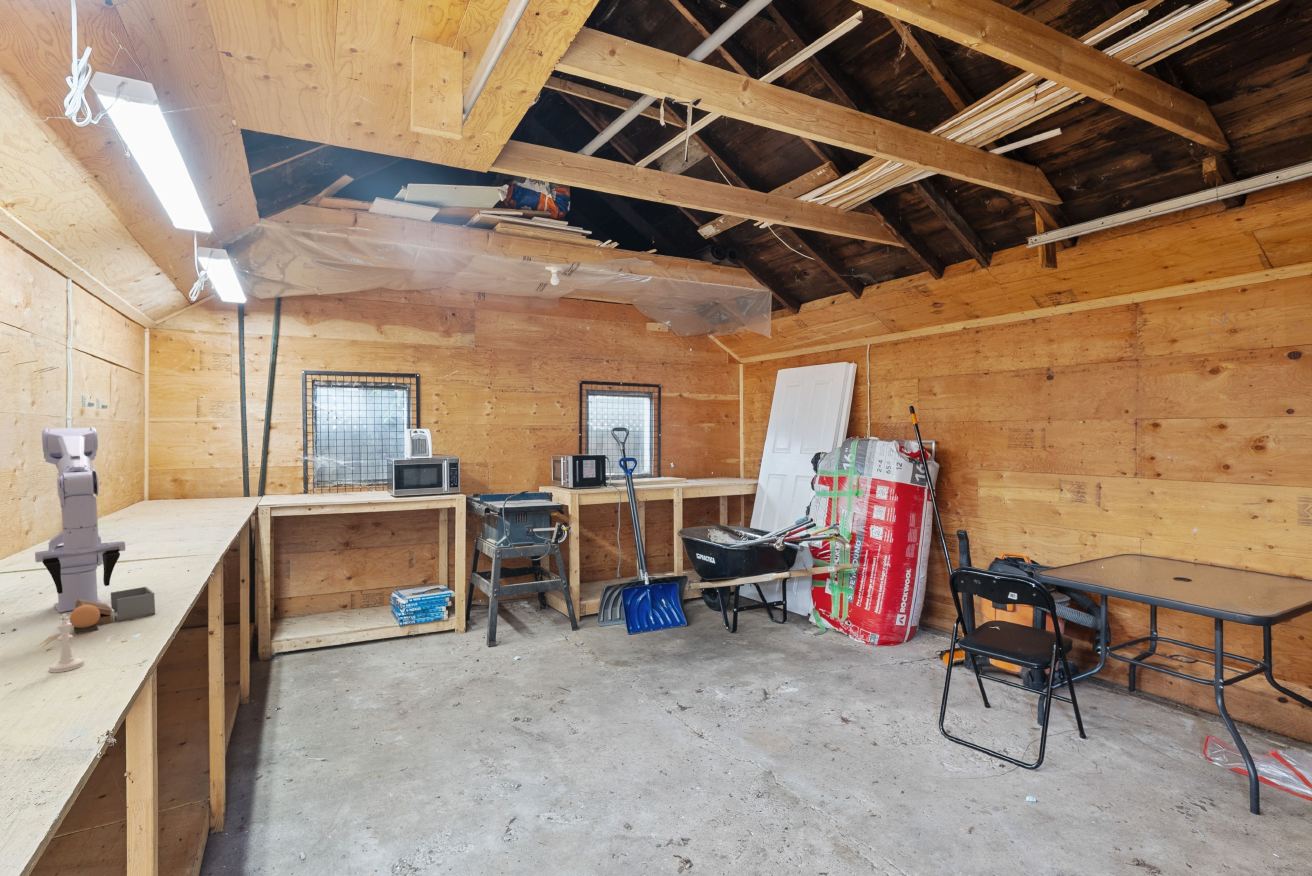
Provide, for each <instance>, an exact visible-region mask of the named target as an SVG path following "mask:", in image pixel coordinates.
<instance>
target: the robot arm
mask: <svg viewBox="0 0 1312 876" xmlns="http://www.w3.org/2000/svg"><path fill="white" fill-rule="evenodd" d="M97 431H98V430H97V429H96V428H95V427H94V426H90V427H63V428H62V427H59V428H58V427H57V428H56V427H55V428H48V427H44V428H43V429H42V430H41V439H42V441H41V442H42V453H43V459H45V463H49V464H52V465H55V467H56V469H57V471H58V472H57V473H58V475H57V478H56V479H57V480H56V483H57V484H56V485H57V496H58V499H59V502H60V503H59V505H60V509H61V522H62V523H61V526H62V531H61V532H59V533H58V534H56V535H55V536H53V537H52V538H50V540H49V542H48V548H47V549H46V550H41V551H35V552H34V559H35V563H42V564H43V566H45V568H46V570H47V571H48V573H49V574H50V576H51V578H52V580H53V583H54V585H55V589H56V593H57V600H58V601H57V602H54V603H53V606H54V607H55V609H56V610H57V613H64V612H69V611H73V610H75V602H76V601H77V599H83V600H88V601H93V602H98V603H103V602H102V601H101V600H100V599H99V598H98V581H97V579H98V578H97V569H98V567H100V566H101V565H102V564H103V585H104V586H105V587H109V586H110V581H111V577H112V573H113V571H114V568H115V566H116V564H117V563H118V560H119V558H120V556H121V553H120V552H124V551H126V542H125V541H113V542H111V541H110V542H102V537H101V536H100V534H99V524H98V506H97V505H98V504H97V503H98V502H97V497H98V496H99V491H100V482H99V477H98V472H97V470H96V469H94V468H93V462H92V461H95V459H96V457H97V452H98V446H99V444H98V442H99V441H98V432H97ZM60 544H63V545H60Z"/></svg>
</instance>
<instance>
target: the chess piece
mask: <svg viewBox="0 0 1312 876" xmlns="http://www.w3.org/2000/svg"><path fill="white" fill-rule="evenodd" d="M58 620H59V621H61V623H60V624H58V625H57V626H56V628H57V629H58V631H59V633H60V635H59V637H57V640H58V641H61V651H60V657H59V658H58V659H57V662H54V663H52V664H50V665H49V667H48V668H49V669H48V672H49V673H63V672H68V671H73V670H75V669H78V668H81V667H82V666H84V665H85V662H84V661H85V659H83V658H80V657H79V658H77V657H75V656H73V654H72V649H71V645H70V639H72V638H74V636H73V634H70V632H71V628H72V626H73V625H72V623H71V622H67V621H70V617H68V616H67V613H64V614H63V613H62V614H61V616H60V617H59V619H58Z"/></svg>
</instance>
